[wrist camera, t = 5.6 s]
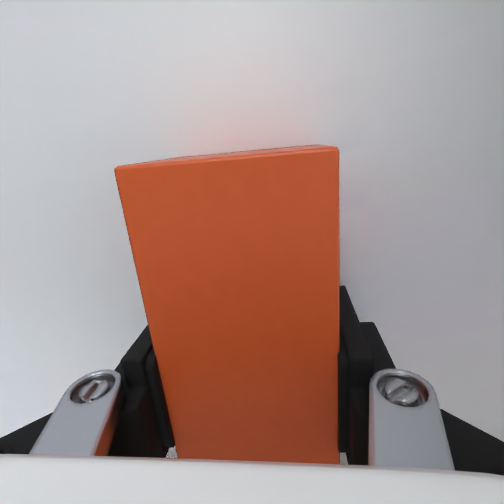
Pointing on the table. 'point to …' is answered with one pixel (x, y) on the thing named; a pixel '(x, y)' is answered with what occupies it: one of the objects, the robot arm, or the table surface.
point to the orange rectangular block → (242, 298)
